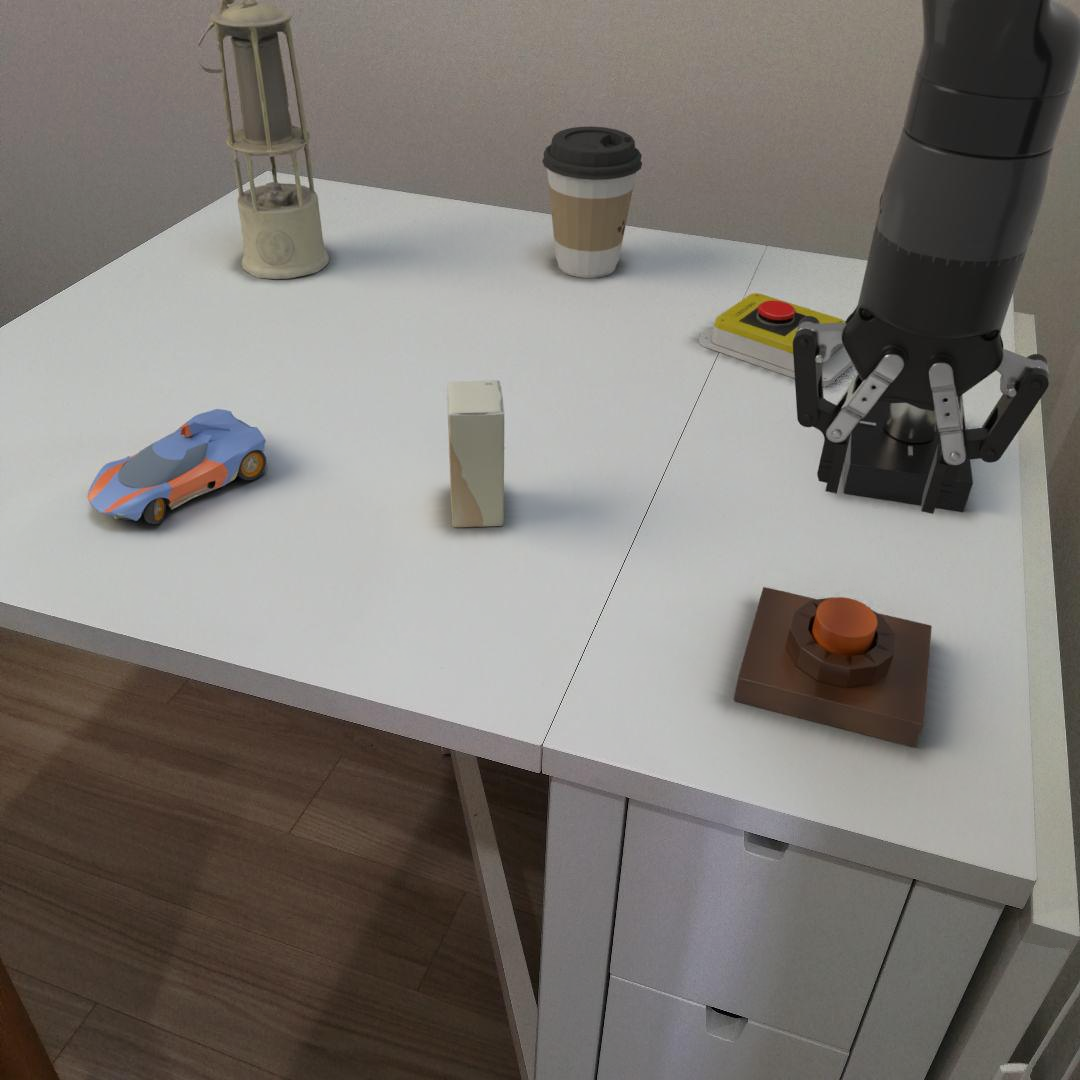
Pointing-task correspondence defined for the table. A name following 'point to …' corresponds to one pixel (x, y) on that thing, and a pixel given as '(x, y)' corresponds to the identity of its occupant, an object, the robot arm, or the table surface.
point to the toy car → (179, 467)
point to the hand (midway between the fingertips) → (880, 494)
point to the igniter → (836, 671)
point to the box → (476, 452)
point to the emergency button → (769, 335)
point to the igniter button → (844, 626)
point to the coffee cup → (590, 196)
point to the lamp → (269, 144)
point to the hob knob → (910, 423)
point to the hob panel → (895, 464)
